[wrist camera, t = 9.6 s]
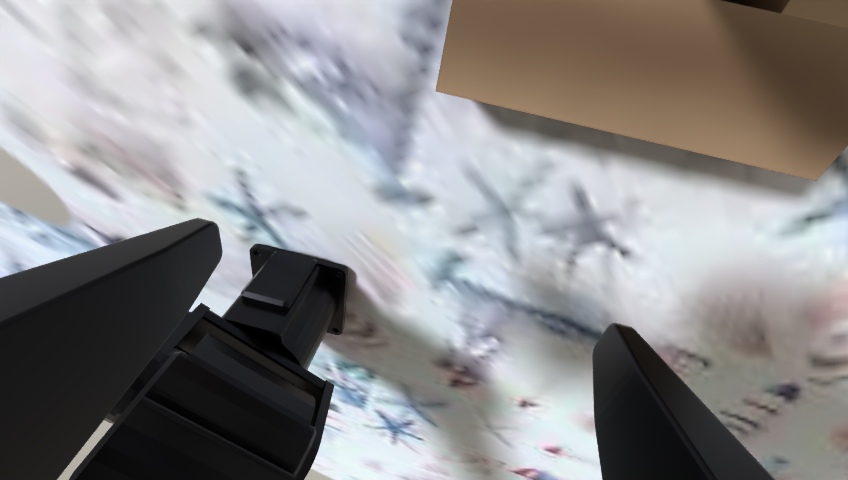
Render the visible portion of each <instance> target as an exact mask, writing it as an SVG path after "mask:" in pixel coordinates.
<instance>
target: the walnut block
mask: <svg viewBox="0 0 848 480" xmlns="http://www.w3.org/2000/svg"><path fill="white" fill-rule="evenodd" d="M436 92H441V93H445V94H449V95H453V96H458V97H462V98H466V99H470V100H475V101H479V102H483V103H487V104H492V105H496V106H500V107H504V108H509V109H513V110H517V111H521V112H526V113H530V114H534V115H538V116H543V117H547V118H551V119H555V120H560V121H564V122H568V123H573V124H577V125H581V126H585V127H590V128H594V129H598V130H602V131H607V132H611V133H615V134H619V135H624V136H628V137H632V138H636V139H641V140H645V141H649V142H653V143H658V144H662V145H666V146H670V147H675V148H679V149H683V150H688V151H692V152H696V153H700V154H705V155H709V156H713V157H717V158H722V159H726V160H730V161H734V162H739V163H743V164H747V165H751V166H756V167H760V168H764V169H768V170H773V171H777V172H781V173H785V174H790V175H794V176H798V177H802V178H807V179H811V180H815V181H816V180H817V179H818V178H819V177H820V176H821V175H822V174H823V173H824V171H825V170H826V169H827V168H828V167H829V166H830V165H831V163H832V162H833V161H834V160H835V159H836V158H837V157H838V156H839V154H840V153H841V152H842V151H843V150H844V149H845V148H846V147H847V145H848V0H453V1H452V6H451V12H450V17H449V22H448V27H447V33H446V38H445V43H444V49H443V54H442V59H441V65H440V70H439V75H438V81H437V86H436Z"/></svg>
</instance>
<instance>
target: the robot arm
mask: <svg viewBox="0 0 848 480" xmlns="http://www.w3.org/2000/svg"><path fill="white" fill-rule="evenodd" d="M258 251H259V252H260V253H259V252H258ZM221 257H222V245H221V239H220V233H219V228H218V225H217V224H216V223H215V222H213V221H209V220H205V219H200V218H196V219H192V220H189V221H185V222H182V223H179V224H176V225H172V226H169V227H166V228H163V229H159V230H156V231H153V232H149V233H146V234H143V235H140V236H136V237H133V238H130V239H126V240H123V241H120V242H117V243H113V244H110V245H107V246H103V247H100V248H97V249H94V250H90V251H87V252H84V253H81V254H77V255H74V256H71V257H67V258H64V259H61V260H58V261H54V262H51V263H48V264H44V265H41V266H38V267H35V268H31V269H28V270H25V271H21V272H18V273H15V274H12V275H8V276H5V277H2V278H0V480H57V479H58V477H59V476H60V475H61V474H62V472H63V471H64V470H65V469H66V467H67V466H68V465H69V464H70V462H71V461H72V460H73V458H74V457H75V456H76V455H77V453H78V452H79V451H80V450H81V448H82V447H83V446H84V444H85V443H86V442H87V441H88V439H89V438H90V437H91V435H92V434H93V433H94V432H95V430H96V429H97V428H98V427H99V425H100V424H101V423H102V421H103V420H105V421H107V422H109V423H112V424H113V425H112V427H111V428H110V429H109V430H108V431H107V433H106V434H105V435H104V436H103V437H102V439H101V440H100V441H99V442H98V443H97V445H96V446H95V447H94V448H93V449H92V451H91V452H90V453H89V454H88V455H87V457H86V458H85V459H84V460H83V461H82V463H81V464H80V465H79V466H78V467H77V469H76V470H75V471H74V472H73V474H72V475H71V477H70V479H69V480H304V479H305V477H306V475H307V474H308V472H309V470H310V468H311V466H312V464H313V462H314V460H315V457H316V455H317V452H318V449H319V446H320V443H321V439H322V434H323V430H324V426H325V422H326V418H327V414H328V409H329V405H330V401H331V397H332V393H333V388H334V385H333V384H332V383H330V382H329V381H327V380H326V381H324V380H322V379H321V378H319V377H317V376H316V375H314V374H313V373H311V372H309V371H308V370H307V369H308V367H309V365H310V363H311V361H312V359H313V357H314V355H315V353H316V351H317V349H318V347H319V345H320V343H321V341H322V339H323V337H324V335H325V333H326V332H327V333H331V334H335V335H340V334H341V333H342V331H343V329H344V321H345V308H346V295H347V282H348V270H347V268H346V267H344V266H343V265H340V264H336V263H332V262H328V261H324V260H320V259H316V258H312V257H308V256H304V255H300V254H297V253H293V252H289V251H285V250H281V249H277V248H273V247H269V246H265V245H261V244H254V246H253V247H252V248H251V249H250V259H251V267H252V275H253V278H252V279H251V281H250V282H249V283H248V284H247V285H246V287H245V288H244V289H243V290H242V292H241V294H240V296H239V297H238V298H237V299H236V301H235V302H234V303H233V304H232V305H231V307H230V308H229V309H228V310H227V312H226V313H225V314H224V315H223V316H222V317H220V316H219V315H217V314H215V313H214V312H212V311H210V310H209V309H210V308H209V307H207V306H206V305H204V304H202V303H201V304H199V305H198V306H197V307H196V308H195V309H194V311H193V312H189V309H190V308H191V306H192V305H193V303H194V302H195V300H196V298H197V297H198V295H199V294H200V292H201V290H202V289H203V287H204V286H205V284H206V282H207V281H208V279H209V278H210V276H211V274H212V273H213V271H214V270H215V268H216V266H217V265H218V263H219V262H220V260H221ZM339 272H341V273H342V274H340V273H339ZM593 393H594V420H595V429H596V437H597V444H598V451H599V458H600V465H601V472H602V479H603V480H775V479H774V478H773V477H772V476H771V475H770V474H769V473H768V472H767V471H766V470H765V469H764V467H763V466H762V465H761V464H760V463H759V462H758V461H757V460H756V459H755V458H754V457H753V456H752V455H751V454H750V453H749V451H748V450H747V449H746V448H745V447H744V446H743V445H742V444H741V443H740V442H739V441H738V440H737V439H736V438H735V436H734V435H733V434H732V433H731V432H730V431H729V430H728V429H727V428H726V427H725V426H724V425H723V424H722V423H721V421H720V420H719V419H718V418H717V417H716V416H715V415H714V414H713V413H712V412H711V411H710V410H709V409H708V408H707V406H706V405H705V404H704V403H703V402H702V401H701V400H700V399H699V398H698V397H697V396H696V395H695V394H694V393H693V392H692V390H691V389H690V388H689V387H688V386H687V385H686V384H685V383H684V382H683V381H682V380H681V379H680V378H679V377H678V375H677V374H676V373H675V372H674V371H673V370H672V369H671V368H670V367H669V366H668V365H667V364H666V363H665V362H664V360H663V359H662V358H661V357H660V356H659V355H658V354H657V353H656V352H655V351H654V350H653V349H652V348H651V347H650V345H649V344H648V343H647V342H646V341H645V340H644V339H643V338H642V337H641V336H640V335H639V334H638V333H637V332H636V331H635V330H634V329H633V328H632V327H629V326H626V325H622V324H618V323H612V324H610V325H609V326H608V328H607V329H606V331H605V332H604V333H603V335H602V336H601V338H600V339H599V341H598V342H597V344H596V345H595V347H594V350H593Z"/></svg>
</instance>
